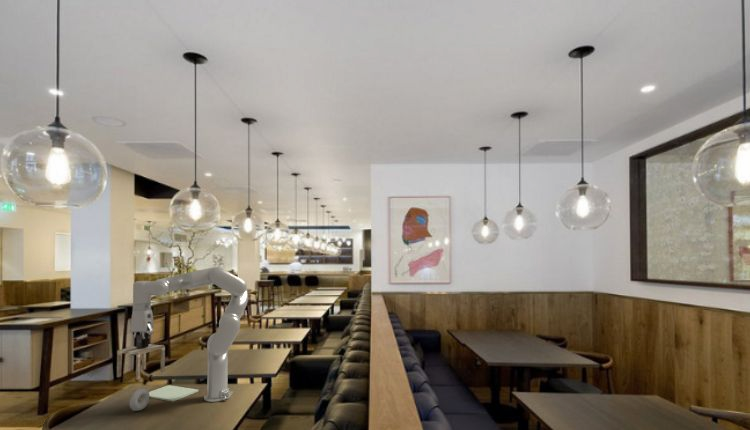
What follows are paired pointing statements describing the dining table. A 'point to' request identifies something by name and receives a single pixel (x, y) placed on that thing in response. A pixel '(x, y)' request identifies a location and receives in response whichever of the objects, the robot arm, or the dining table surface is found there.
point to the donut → (135, 396)
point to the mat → (171, 393)
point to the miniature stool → (138, 352)
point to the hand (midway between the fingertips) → (141, 346)
